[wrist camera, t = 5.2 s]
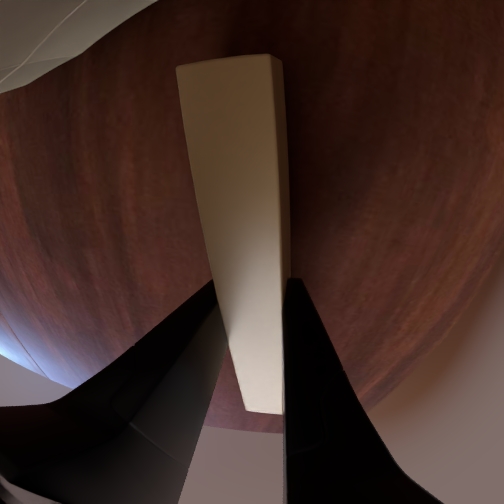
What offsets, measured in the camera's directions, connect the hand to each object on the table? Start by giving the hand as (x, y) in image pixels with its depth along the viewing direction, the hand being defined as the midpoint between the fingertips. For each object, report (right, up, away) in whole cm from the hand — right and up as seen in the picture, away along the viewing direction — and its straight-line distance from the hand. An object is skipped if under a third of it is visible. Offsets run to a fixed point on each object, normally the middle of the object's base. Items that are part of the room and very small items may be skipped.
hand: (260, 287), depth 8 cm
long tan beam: (0, +1, +1) cm, 1 cm away
